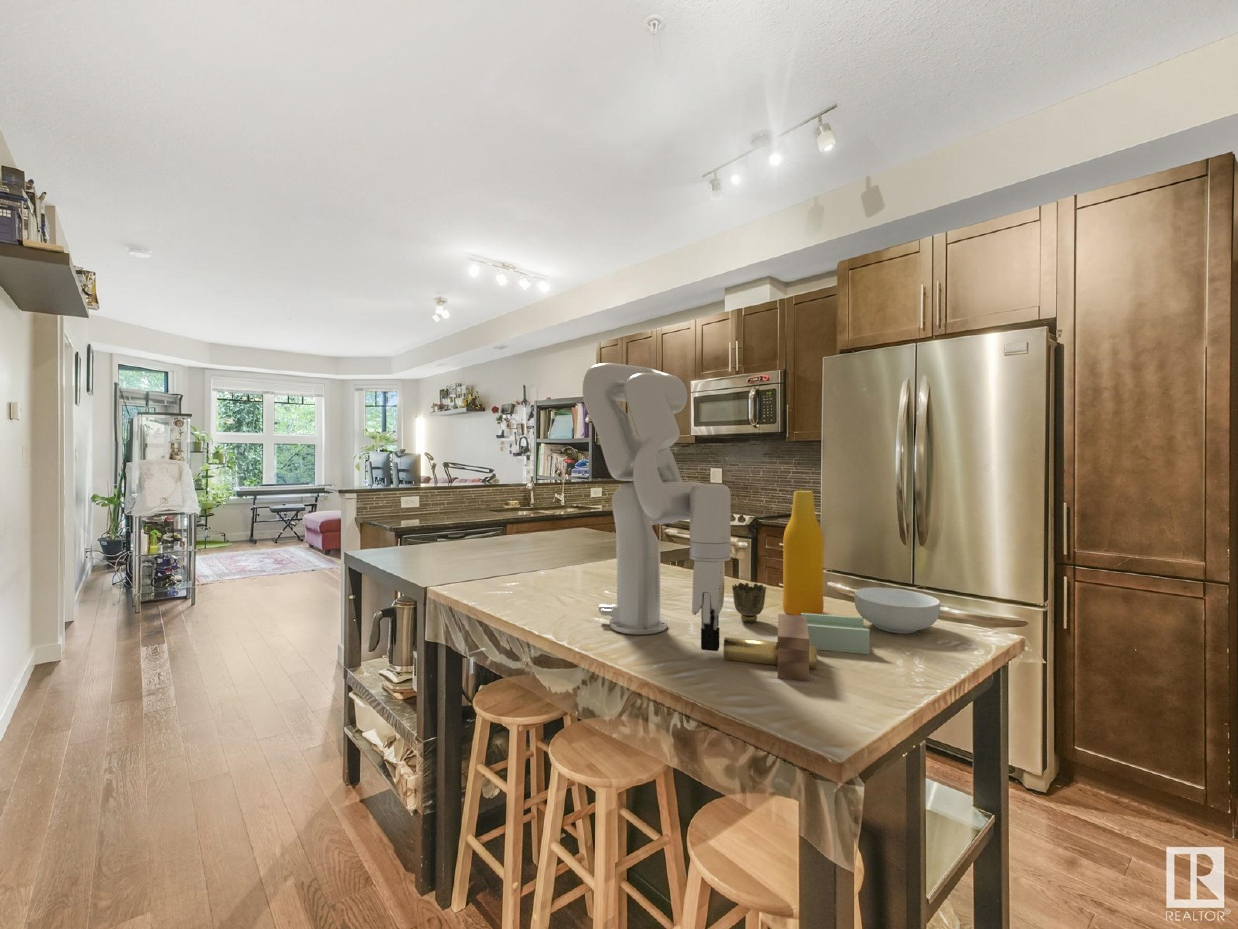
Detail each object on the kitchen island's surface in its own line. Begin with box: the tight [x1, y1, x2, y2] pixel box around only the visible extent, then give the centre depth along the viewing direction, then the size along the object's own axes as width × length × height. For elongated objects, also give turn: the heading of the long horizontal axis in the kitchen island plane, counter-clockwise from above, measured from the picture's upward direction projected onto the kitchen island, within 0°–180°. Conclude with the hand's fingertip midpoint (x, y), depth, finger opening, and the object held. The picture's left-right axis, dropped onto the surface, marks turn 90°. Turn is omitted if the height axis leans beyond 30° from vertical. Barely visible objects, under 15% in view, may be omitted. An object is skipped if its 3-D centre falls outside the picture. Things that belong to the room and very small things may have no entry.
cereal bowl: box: [853, 587, 941, 634], centre depth 122 cm, size 17×17×7 cm
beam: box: [777, 613, 810, 682], centre depth 100 cm, size 5×14×7 cm, turn 164°
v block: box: [801, 613, 871, 655], centre depth 111 cm, size 12×9×4 cm
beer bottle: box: [782, 490, 825, 616], centre depth 134 cm, size 9×9×29 cm
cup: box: [731, 582, 767, 624], centre depth 127 cm, size 8×7×8 cm
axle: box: [723, 636, 818, 670], centre depth 101 cm, size 16×4×4 cm, turn 74°
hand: (710, 649), depth 104 cm, fingers closed
